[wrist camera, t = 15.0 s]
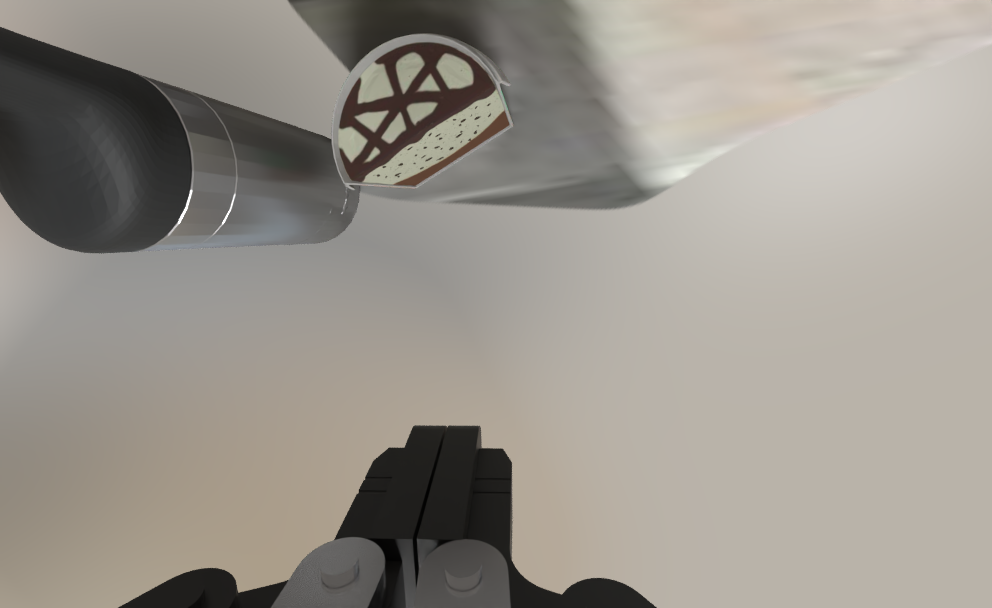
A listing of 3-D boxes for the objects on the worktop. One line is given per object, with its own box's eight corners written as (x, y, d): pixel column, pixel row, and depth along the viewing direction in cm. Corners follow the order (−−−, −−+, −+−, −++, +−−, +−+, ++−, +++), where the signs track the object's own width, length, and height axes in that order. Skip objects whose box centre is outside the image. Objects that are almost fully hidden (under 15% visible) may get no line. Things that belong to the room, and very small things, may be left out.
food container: (491, 43, 37) (451, -24, 27) (530, 114, 37) (504, 74, 27) (365, 132, 40) (289, 101, 31) (401, 198, 40) (337, 187, 31)
